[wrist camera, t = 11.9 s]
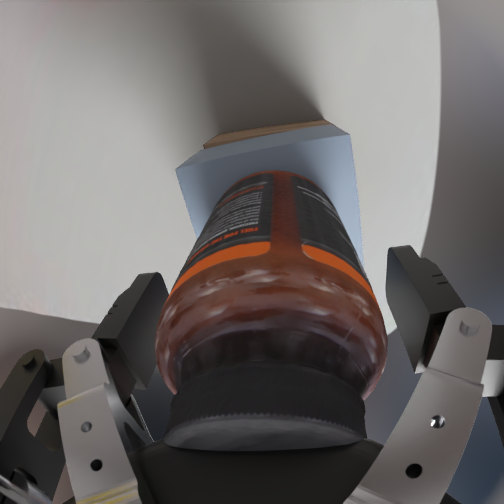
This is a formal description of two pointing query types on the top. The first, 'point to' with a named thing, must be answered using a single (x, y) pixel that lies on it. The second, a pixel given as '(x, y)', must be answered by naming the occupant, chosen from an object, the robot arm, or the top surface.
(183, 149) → the top surface
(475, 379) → the robot arm
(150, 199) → the top surface
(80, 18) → the top surface
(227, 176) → the tower top block
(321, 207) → the supplement bottle
